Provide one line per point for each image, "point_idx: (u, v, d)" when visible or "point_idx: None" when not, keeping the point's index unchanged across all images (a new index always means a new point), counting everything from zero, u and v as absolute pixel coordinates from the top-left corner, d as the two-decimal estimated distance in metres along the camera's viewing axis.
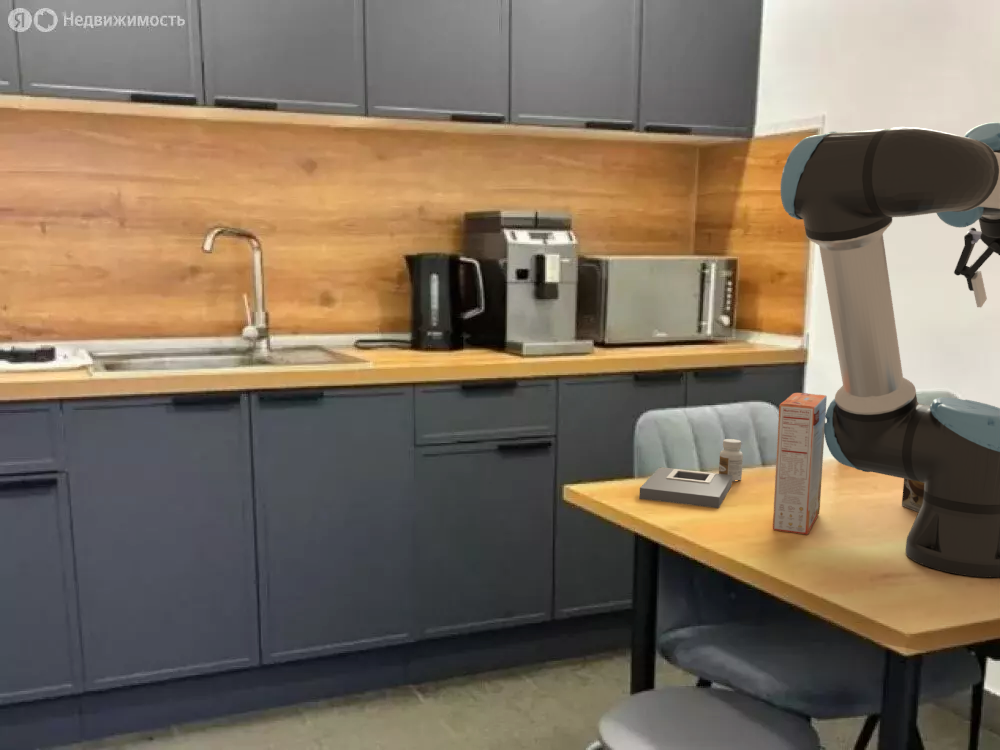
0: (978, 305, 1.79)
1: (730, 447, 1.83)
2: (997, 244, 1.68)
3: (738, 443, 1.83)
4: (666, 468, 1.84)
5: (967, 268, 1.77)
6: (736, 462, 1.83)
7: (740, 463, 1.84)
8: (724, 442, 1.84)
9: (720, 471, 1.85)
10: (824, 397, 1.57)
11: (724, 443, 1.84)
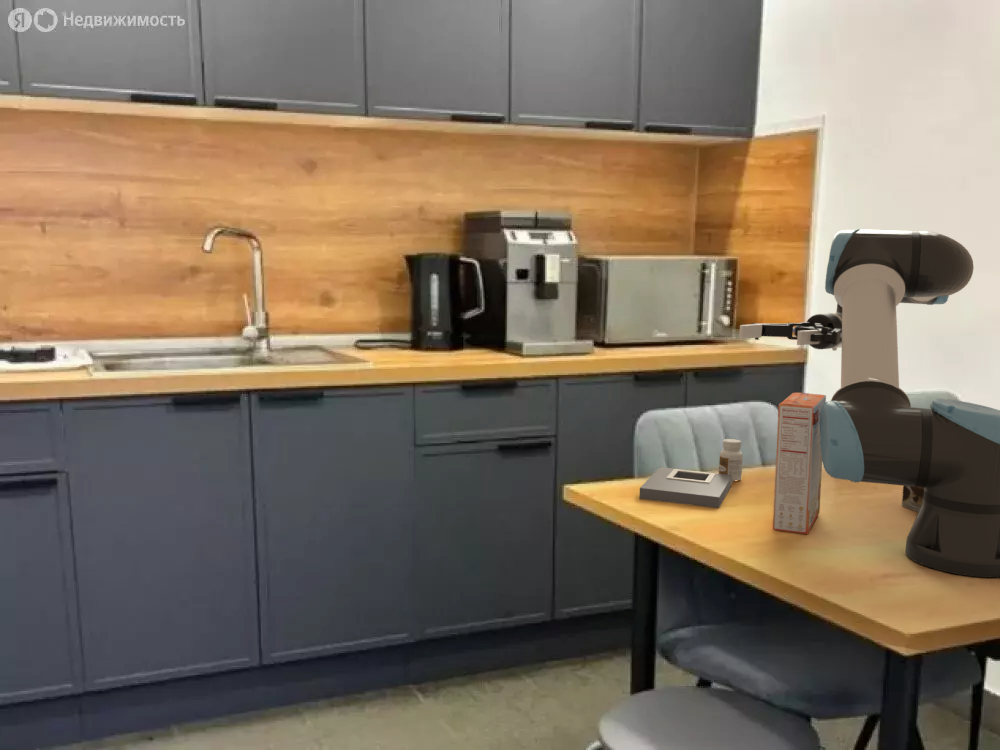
0: (742, 325, 1.93)
1: (730, 447, 1.83)
2: (808, 322, 1.98)
3: (738, 443, 1.83)
4: (666, 468, 1.84)
5: None
6: (736, 462, 1.83)
7: (740, 463, 1.84)
8: (724, 442, 1.84)
9: (720, 471, 1.85)
10: (823, 397, 1.57)
11: (724, 443, 1.84)
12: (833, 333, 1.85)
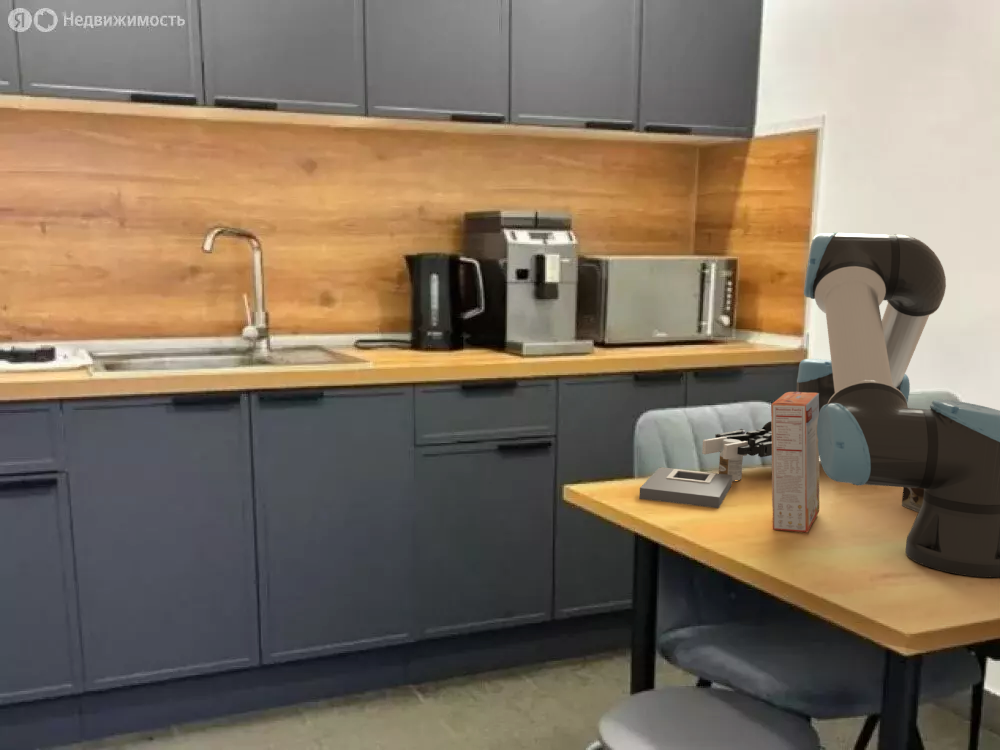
0: (705, 440, 1.83)
1: None
2: (764, 429, 1.93)
3: None
4: (666, 468, 1.84)
5: None
6: (736, 462, 1.83)
7: (740, 463, 1.84)
8: (724, 442, 1.84)
9: (720, 471, 1.85)
10: (816, 394, 1.57)
11: (724, 443, 1.84)
12: (761, 445, 1.82)
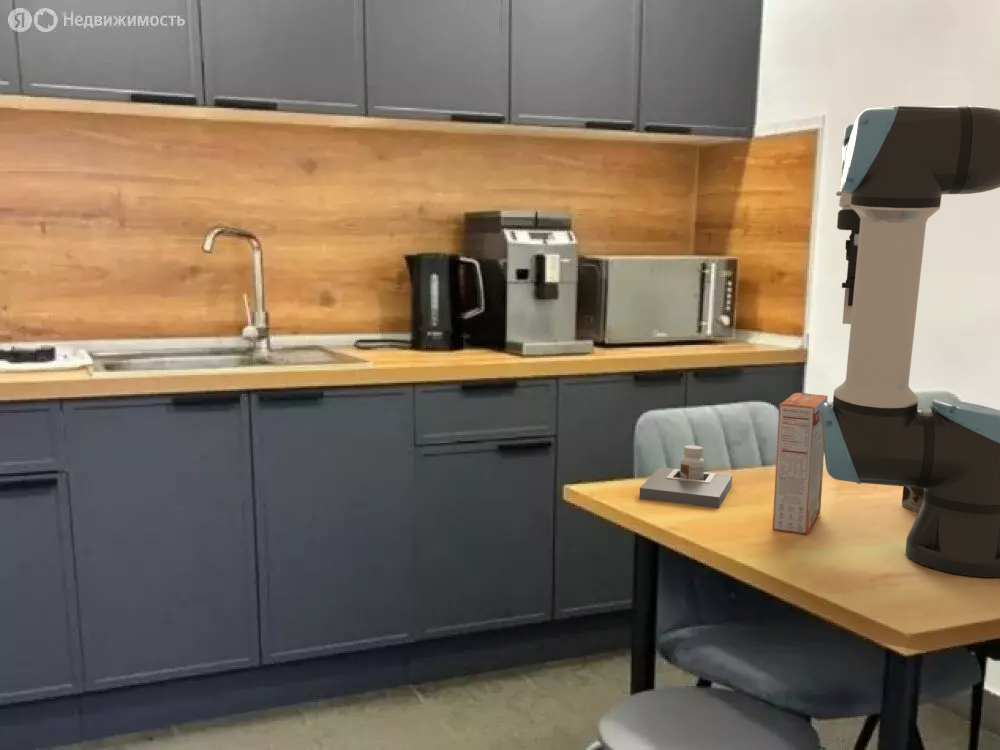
0: None
1: (691, 454, 1.76)
2: None
3: (699, 450, 1.76)
4: (666, 468, 1.84)
5: None
6: (697, 469, 1.76)
7: (701, 470, 1.76)
8: (685, 449, 1.77)
9: None
10: (825, 397, 1.56)
11: (685, 450, 1.77)
12: None
